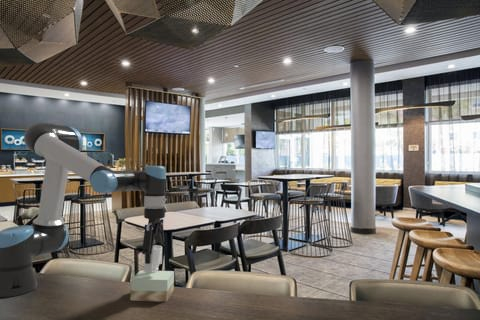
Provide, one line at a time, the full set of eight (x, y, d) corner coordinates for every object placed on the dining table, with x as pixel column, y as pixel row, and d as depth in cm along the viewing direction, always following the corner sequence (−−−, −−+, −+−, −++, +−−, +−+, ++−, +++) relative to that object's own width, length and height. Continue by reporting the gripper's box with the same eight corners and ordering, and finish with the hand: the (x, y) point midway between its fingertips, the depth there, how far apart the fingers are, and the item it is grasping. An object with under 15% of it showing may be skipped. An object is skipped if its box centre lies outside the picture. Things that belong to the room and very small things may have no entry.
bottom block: (130, 301, 116) (130, 290, 116) (140, 291, 126) (140, 280, 126) (166, 303, 115) (166, 291, 115) (173, 292, 125) (173, 281, 125)
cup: (139, 272, 115) (140, 249, 116) (148, 264, 125) (148, 243, 126) (159, 272, 115) (159, 250, 116) (166, 264, 125) (166, 243, 126)
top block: (131, 290, 116) (131, 279, 116) (140, 280, 126) (140, 270, 126) (167, 291, 115) (167, 279, 115) (174, 281, 125) (174, 271, 125)
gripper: (154, 211, 110) (152, 278, 109) (173, 204, 132) (172, 259, 131) (132, 210, 110) (131, 277, 110) (155, 203, 133) (154, 258, 132)
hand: (153, 267), depth 120 cm, fingers closed on cup, 10 cm apart
